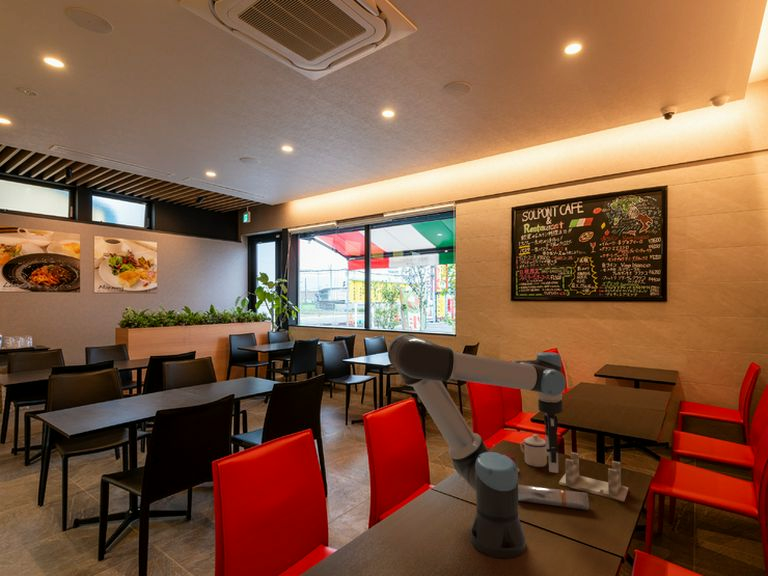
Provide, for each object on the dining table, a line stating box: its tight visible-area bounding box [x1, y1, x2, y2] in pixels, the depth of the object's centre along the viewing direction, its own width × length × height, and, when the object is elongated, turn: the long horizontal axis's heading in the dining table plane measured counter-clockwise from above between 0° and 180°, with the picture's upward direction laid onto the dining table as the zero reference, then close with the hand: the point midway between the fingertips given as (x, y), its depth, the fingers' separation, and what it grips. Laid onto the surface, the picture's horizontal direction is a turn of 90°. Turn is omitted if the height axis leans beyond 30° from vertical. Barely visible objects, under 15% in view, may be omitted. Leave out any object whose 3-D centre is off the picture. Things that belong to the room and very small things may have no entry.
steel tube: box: [518, 484, 590, 511], centre depth 137 cm, size 22×5×5 cm
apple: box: [504, 453, 520, 473], centre depth 164 cm, size 8×8×6 cm
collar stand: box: [558, 451, 629, 502], centre depth 149 cm, size 21×10×10 cm, turn 52°
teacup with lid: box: [520, 434, 548, 468], centre depth 172 cm, size 12×9×12 cm
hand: (551, 463), depth 136 cm, fingers open, 13 cm apart
